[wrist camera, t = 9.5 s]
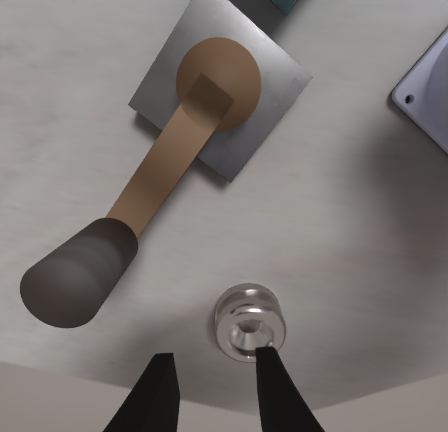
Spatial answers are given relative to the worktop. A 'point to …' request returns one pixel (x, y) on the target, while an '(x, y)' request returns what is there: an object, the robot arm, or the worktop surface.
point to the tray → (284, 5)
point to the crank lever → (145, 186)
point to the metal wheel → (248, 321)
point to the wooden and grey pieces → (269, 70)
